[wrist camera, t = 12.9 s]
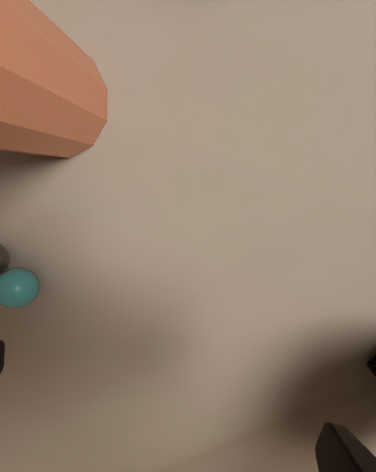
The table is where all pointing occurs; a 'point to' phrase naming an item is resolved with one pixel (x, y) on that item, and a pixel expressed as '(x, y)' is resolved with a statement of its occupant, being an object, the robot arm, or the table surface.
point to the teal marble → (18, 288)
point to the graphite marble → (3, 259)
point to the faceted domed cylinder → (46, 86)
